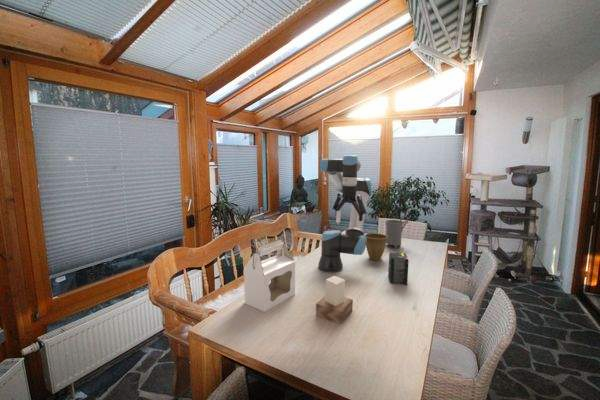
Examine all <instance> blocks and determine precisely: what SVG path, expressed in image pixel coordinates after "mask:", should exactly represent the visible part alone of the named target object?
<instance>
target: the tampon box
mask: <svg viewBox="0 0 600 400" xmlns="http://www.w3.org/2000/svg"><path fill="white" fill-rule="evenodd" d="M409 264H410V263H409V258H408V256H407V253H404V252H391V251H390V252H389V257H388V269H387V271H388V272H387V273H388V274H387V278H388V281H389V284H394V285H405V286H408V277H409Z"/></svg>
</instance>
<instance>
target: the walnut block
mask: <svg viewBox="0 0 600 400" xmlns="http://www.w3.org/2000/svg"><path fill="white" fill-rule="evenodd" d="M353 303H354V302H353V299H352V298H348V297H345V298H344V302H343V303H341V304H339V305H337V306H334V305H332V304H330V303H328V302H326V301H325V295H324V296H323V297H322V298H321V299H320V300H319V301H317V302H316V303H315V316H316V317H318V318H321V319H325V320H327V321H330V322H334V323H336V324H339V325H343V324H344V322H345V321H346V320H347V318H348V317H349V316H351V314H352V312H353V307H354V306H353Z"/></svg>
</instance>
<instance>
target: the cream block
mask: <svg viewBox="0 0 600 400" xmlns="http://www.w3.org/2000/svg"><path fill="white" fill-rule="evenodd" d="M324 285H325V287H324V289H325V290H324V291H325V292H324V296H325V301H326V302H328V303H330V304H332V305H334V306H337V305H339V304H341V303H343V302H344V298H345V296H346V295H345V293H346V279H344V278H341V277H339V276H336V275H333V276H331V277H330V276H329V278H326V279H325V284H324Z"/></svg>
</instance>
